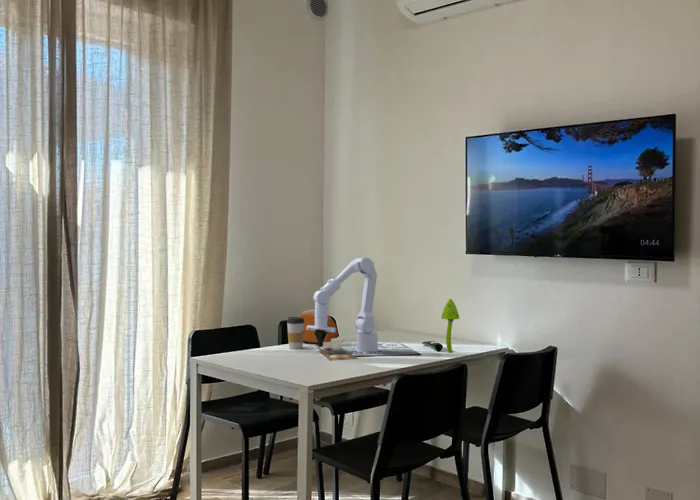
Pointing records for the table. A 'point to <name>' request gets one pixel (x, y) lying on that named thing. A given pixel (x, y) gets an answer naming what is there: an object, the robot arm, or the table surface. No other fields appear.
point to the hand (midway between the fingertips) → (320, 346)
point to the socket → (329, 352)
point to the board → (337, 359)
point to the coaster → (340, 356)
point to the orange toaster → (310, 320)
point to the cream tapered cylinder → (333, 344)
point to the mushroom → (449, 320)
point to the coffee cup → (295, 332)
